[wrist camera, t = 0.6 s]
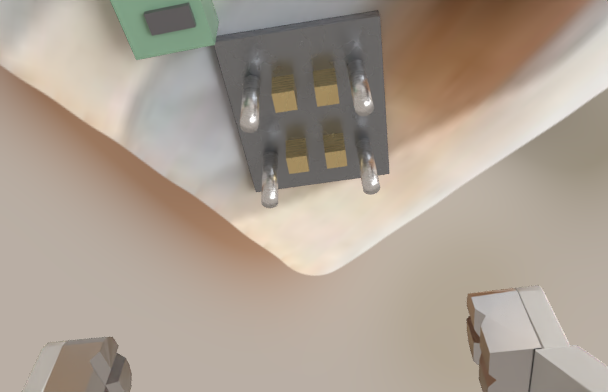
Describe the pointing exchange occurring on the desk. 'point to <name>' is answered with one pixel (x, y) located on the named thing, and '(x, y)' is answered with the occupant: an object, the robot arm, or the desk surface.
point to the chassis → (309, 102)
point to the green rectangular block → (166, 25)
